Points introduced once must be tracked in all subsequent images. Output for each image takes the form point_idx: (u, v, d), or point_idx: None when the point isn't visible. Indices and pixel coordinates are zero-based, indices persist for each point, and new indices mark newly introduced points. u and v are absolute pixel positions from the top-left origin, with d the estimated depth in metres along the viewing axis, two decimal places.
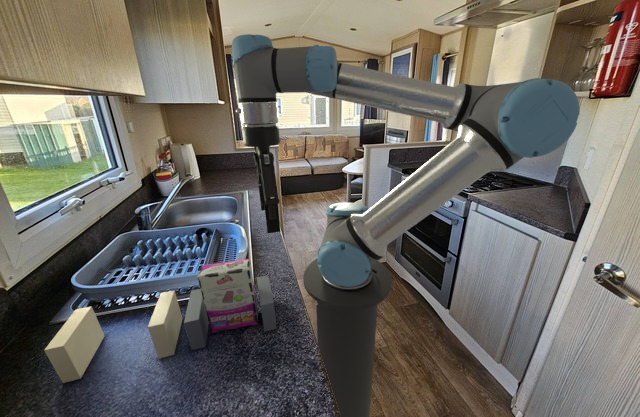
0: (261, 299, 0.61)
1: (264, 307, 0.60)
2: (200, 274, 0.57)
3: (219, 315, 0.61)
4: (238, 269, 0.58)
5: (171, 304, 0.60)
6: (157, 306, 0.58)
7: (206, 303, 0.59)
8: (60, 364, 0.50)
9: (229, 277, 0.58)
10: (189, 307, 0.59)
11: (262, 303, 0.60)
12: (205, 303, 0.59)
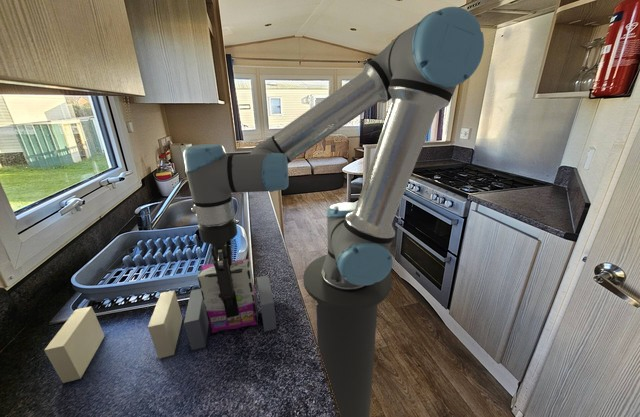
0: (261, 299, 0.61)
1: (264, 307, 0.60)
2: (200, 274, 0.57)
3: (218, 315, 0.61)
4: (238, 269, 0.58)
5: (171, 304, 0.60)
6: (157, 306, 0.58)
7: (206, 303, 0.59)
8: (60, 364, 0.50)
9: None
10: (189, 307, 0.59)
11: (262, 303, 0.60)
12: (205, 303, 0.59)
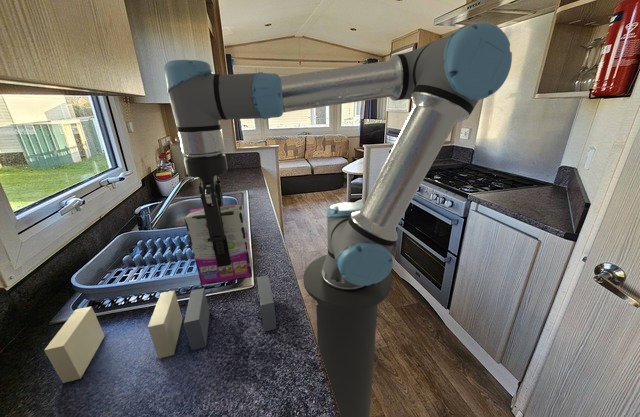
0: (261, 299, 0.61)
1: (264, 307, 0.60)
2: (187, 216, 0.52)
3: (209, 264, 0.56)
4: (228, 212, 0.53)
5: (171, 304, 0.60)
6: (157, 306, 0.58)
7: (194, 250, 0.54)
8: (60, 364, 0.50)
9: None
10: (189, 307, 0.59)
11: (262, 303, 0.60)
12: (193, 250, 0.54)
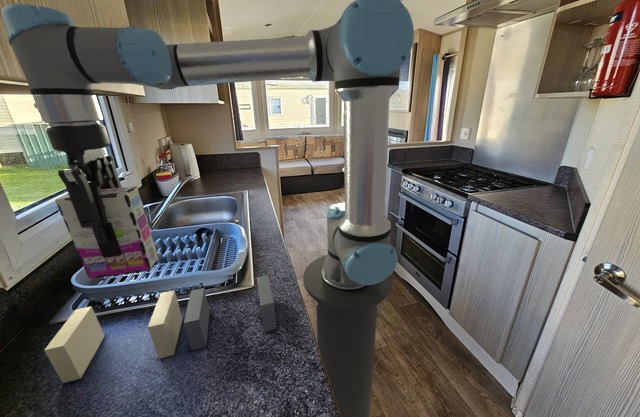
0: (261, 299, 0.61)
1: (264, 307, 0.60)
2: (60, 197, 0.45)
3: (94, 254, 0.48)
4: (111, 193, 0.46)
5: (171, 304, 0.60)
6: (157, 306, 0.58)
7: (73, 237, 0.47)
8: (60, 364, 0.50)
9: None
10: (189, 307, 0.59)
11: (262, 303, 0.60)
12: (72, 237, 0.47)
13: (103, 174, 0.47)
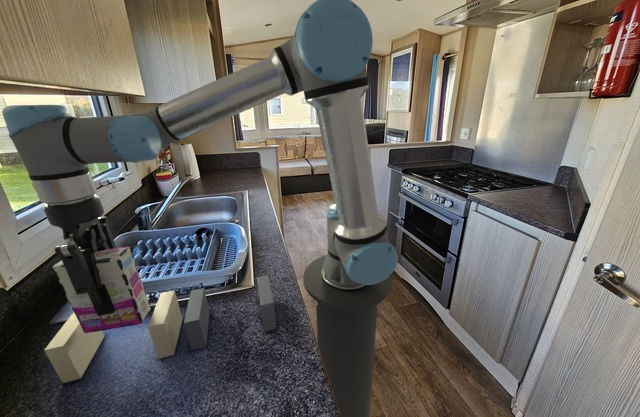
0: (261, 299, 0.61)
1: (264, 307, 0.60)
2: (57, 264, 0.48)
3: (89, 312, 0.52)
4: (104, 259, 0.49)
5: (171, 304, 0.60)
6: (157, 306, 0.58)
7: (69, 298, 0.50)
8: (60, 364, 0.50)
9: None
10: (189, 307, 0.59)
11: (262, 303, 0.60)
12: (69, 298, 0.50)
13: (97, 239, 0.50)
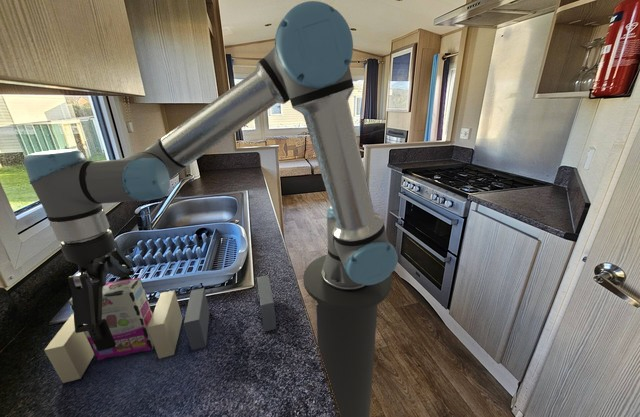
0: (261, 299, 0.61)
1: (264, 307, 0.60)
2: None
3: None
4: (117, 292, 0.52)
5: (171, 304, 0.60)
6: (157, 306, 0.58)
7: None
8: (60, 364, 0.50)
9: (108, 301, 0.52)
10: (189, 307, 0.59)
11: (262, 303, 0.60)
12: None
13: (109, 270, 0.53)
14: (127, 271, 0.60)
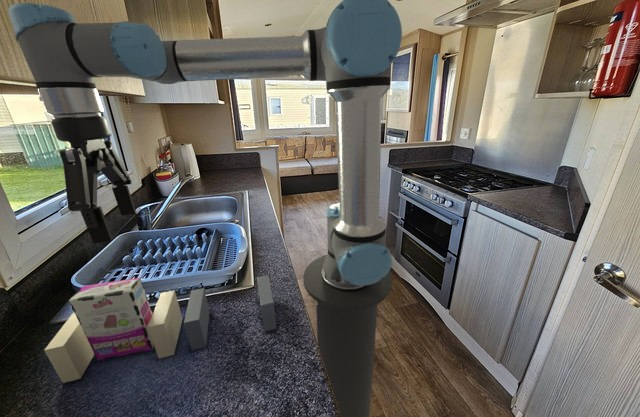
0: (261, 299, 0.61)
1: (264, 307, 0.60)
2: (73, 297, 0.51)
3: (102, 341, 0.55)
4: (117, 292, 0.52)
5: (171, 304, 0.60)
6: (157, 306, 0.58)
7: (84, 329, 0.53)
8: (60, 364, 0.50)
9: (108, 301, 0.52)
10: (189, 307, 0.59)
11: (262, 303, 0.60)
12: (83, 329, 0.53)
13: (105, 164, 0.50)
14: (124, 178, 0.57)
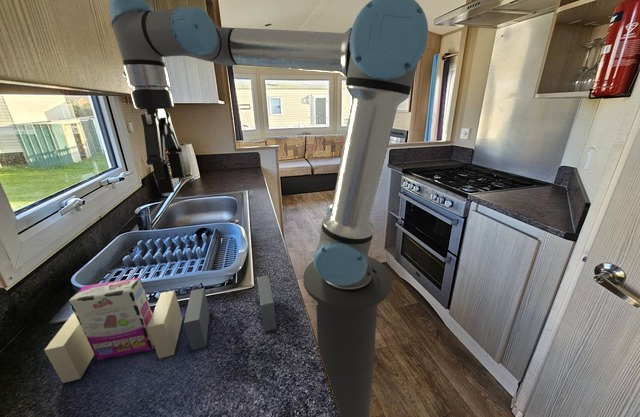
0: (261, 299, 0.61)
1: (264, 307, 0.60)
2: (73, 297, 0.51)
3: (102, 341, 0.55)
4: (117, 292, 0.52)
5: (171, 304, 0.60)
6: (157, 306, 0.58)
7: (84, 329, 0.53)
8: (60, 364, 0.50)
9: (108, 301, 0.52)
10: (189, 307, 0.59)
11: (262, 303, 0.60)
12: (83, 329, 0.53)
13: (167, 131, 0.60)
14: (176, 146, 0.67)
